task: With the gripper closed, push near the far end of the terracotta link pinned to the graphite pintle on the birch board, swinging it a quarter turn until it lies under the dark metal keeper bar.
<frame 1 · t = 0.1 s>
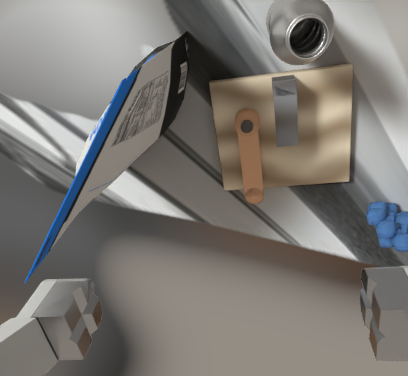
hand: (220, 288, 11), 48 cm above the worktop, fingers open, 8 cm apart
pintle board: (281, 131, 58), on the worktop
grapes: (382, 210, 63), on the worktop
protein powder: (149, 101, 59), on the worktop
link: (250, 158, 58), point 3 cm above the worktop, hinge at 0.0°
plastic bottle: (290, 17, 51), on the worktop
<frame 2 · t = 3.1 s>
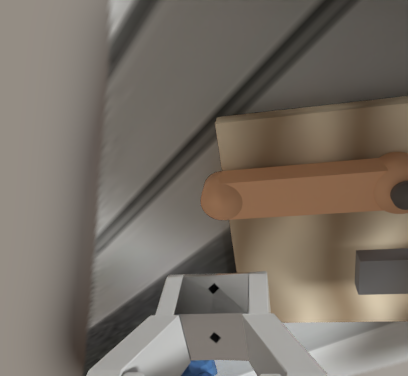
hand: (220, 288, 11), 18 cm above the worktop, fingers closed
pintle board: (341, 221, 31), on the worktop
grapes: (186, 349, 41), on the worktop
link: (308, 189, 26), point 3 cm above the worktop, hinge at 0.0°
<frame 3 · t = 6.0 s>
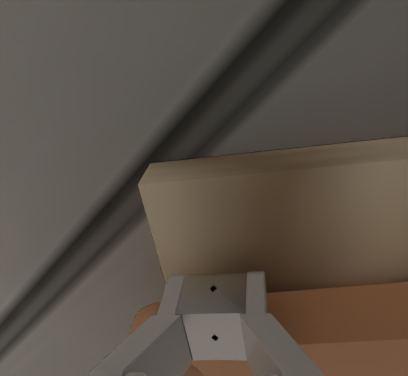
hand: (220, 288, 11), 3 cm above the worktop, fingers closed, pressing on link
link: (362, 347, 11), point 3 cm above the worktop, hinge at 3.6°, touching gripper
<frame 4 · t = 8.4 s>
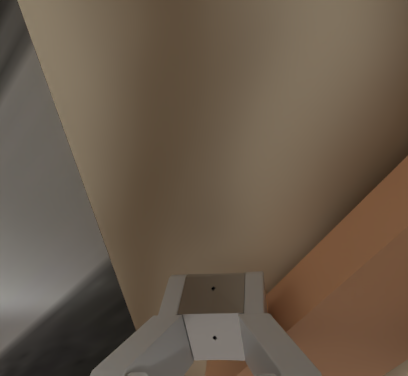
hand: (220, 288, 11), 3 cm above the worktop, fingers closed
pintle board: (379, 233, 13), on the worktop
link: (379, 283, 10), point 3 cm above the worktop, hinge at 49.1°, touching gripper
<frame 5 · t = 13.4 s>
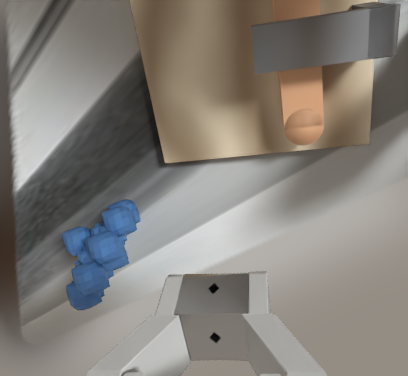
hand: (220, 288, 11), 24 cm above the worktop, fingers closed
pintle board: (252, 32, 30), on the worktop
grapes: (116, 212, 40), on the worktop
link: (297, 43, 27), point 3 cm above the worktop, hinge at 91.8°
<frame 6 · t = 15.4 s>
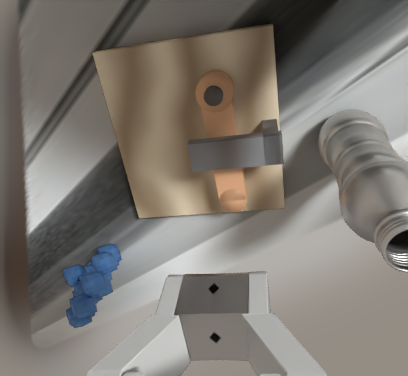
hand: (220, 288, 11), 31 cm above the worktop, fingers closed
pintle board: (197, 131, 42), on the worktop
grapes: (105, 250, 53), on the worktop
link: (224, 146, 39), point 3 cm above the worktop, hinge at 91.8°
plastic bottle: (345, 132, 40), on the worktop
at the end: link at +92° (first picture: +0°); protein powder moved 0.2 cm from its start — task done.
